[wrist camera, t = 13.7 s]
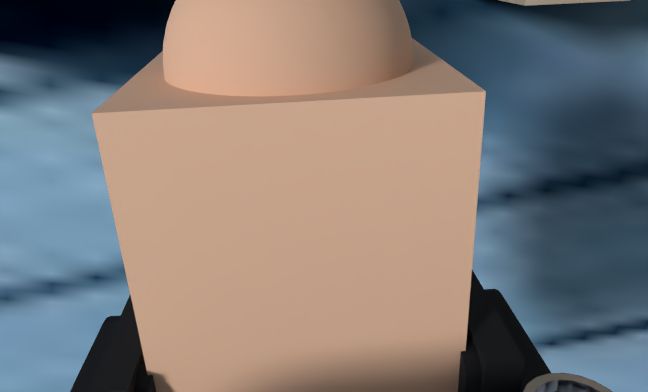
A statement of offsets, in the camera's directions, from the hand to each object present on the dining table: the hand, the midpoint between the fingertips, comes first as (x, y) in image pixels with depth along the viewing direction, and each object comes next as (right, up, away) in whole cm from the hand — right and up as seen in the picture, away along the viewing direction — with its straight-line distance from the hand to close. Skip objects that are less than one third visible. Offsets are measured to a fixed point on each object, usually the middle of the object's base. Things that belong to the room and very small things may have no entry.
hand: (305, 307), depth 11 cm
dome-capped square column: (0, 0, 0) cm, 0 cm away
